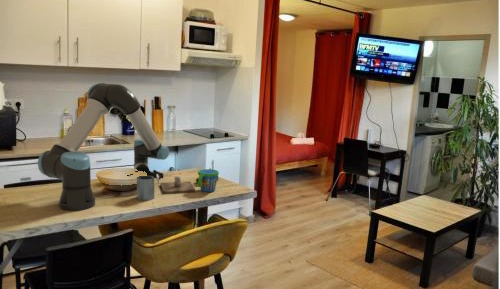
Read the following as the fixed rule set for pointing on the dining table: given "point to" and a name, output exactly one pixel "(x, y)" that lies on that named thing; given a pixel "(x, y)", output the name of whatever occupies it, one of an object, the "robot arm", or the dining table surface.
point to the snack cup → (207, 179)
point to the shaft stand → (177, 186)
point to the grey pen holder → (145, 188)
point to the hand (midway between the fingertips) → (144, 180)
